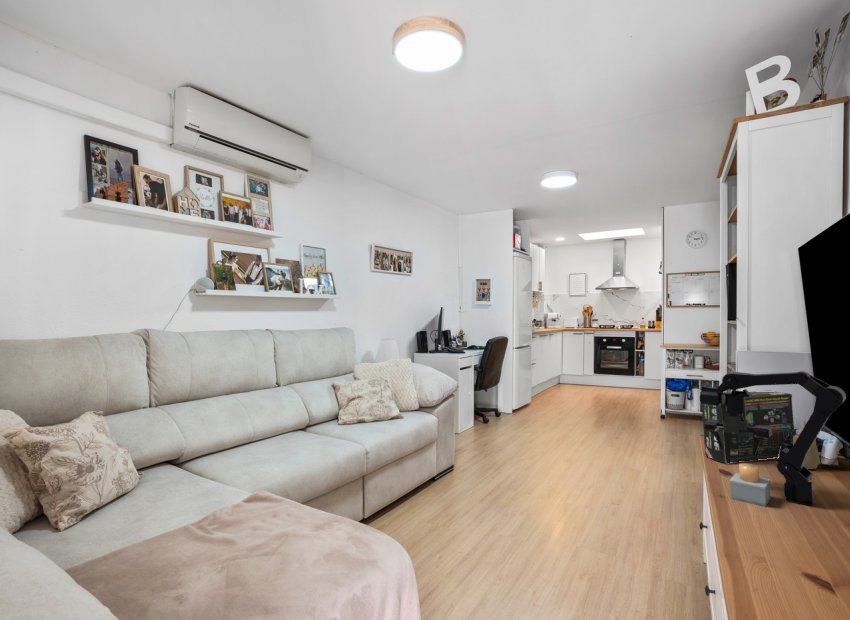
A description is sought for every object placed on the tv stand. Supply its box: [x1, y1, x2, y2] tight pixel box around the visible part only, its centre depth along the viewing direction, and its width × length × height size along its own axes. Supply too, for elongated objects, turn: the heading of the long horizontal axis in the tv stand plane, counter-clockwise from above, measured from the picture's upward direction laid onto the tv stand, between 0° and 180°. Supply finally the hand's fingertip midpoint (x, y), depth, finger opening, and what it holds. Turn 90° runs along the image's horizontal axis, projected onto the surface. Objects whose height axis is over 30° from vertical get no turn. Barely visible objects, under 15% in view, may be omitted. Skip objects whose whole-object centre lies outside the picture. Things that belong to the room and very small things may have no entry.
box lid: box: [729, 472, 771, 489], centre depth 139 cm, size 9×9×1 cm
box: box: [729, 481, 772, 507], centre depth 139 cm, size 9×9×6 cm
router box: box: [701, 391, 795, 464], centre depth 180 cm, size 36×11×27 cm, turn 99°
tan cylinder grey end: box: [738, 462, 760, 483], centre depth 139 cm, size 5×5×5 cm
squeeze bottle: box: [793, 420, 820, 470], centre depth 165 cm, size 8×8×18 cm
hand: (738, 452), depth 149 cm, fingers open, 9 cm apart
